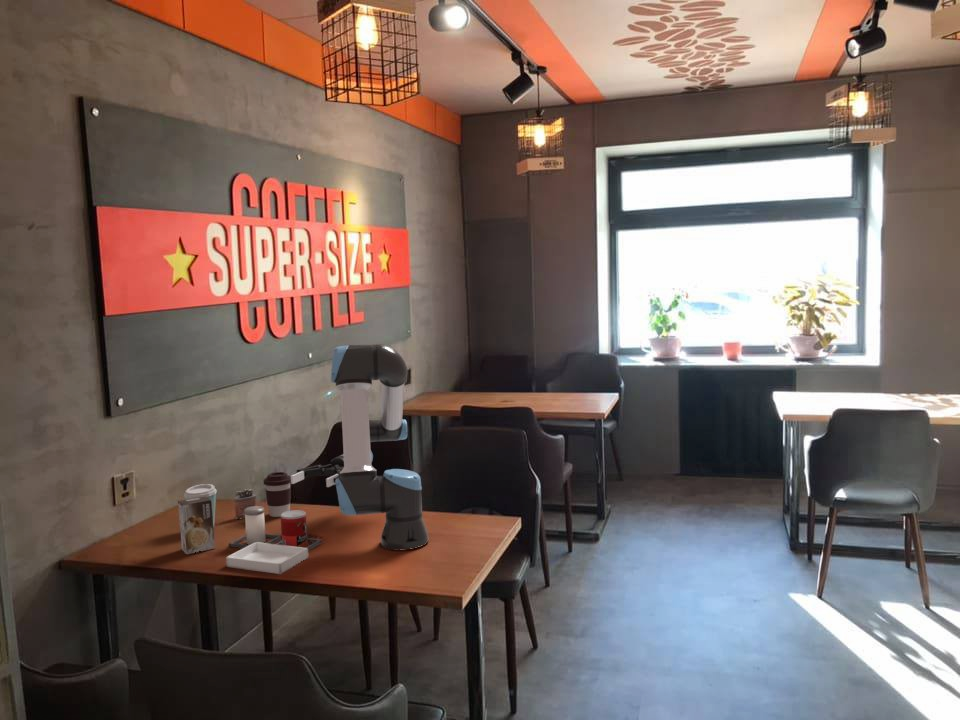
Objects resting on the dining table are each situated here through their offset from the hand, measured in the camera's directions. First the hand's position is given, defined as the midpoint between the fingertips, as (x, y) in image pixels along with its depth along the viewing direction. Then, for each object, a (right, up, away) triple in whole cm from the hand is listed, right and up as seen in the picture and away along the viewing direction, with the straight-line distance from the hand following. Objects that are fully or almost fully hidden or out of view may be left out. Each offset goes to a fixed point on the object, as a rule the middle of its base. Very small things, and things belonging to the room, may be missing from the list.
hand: (309, 481), depth 261 cm
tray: (-8, -21, -20) cm, 30 cm away
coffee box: (-34, -21, -7) cm, 40 cm away
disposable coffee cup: (-39, -19, +13) cm, 45 cm away
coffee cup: (-17, -17, +28) cm, 37 cm away
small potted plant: (-28, -17, +27) cm, 42 cm away
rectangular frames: (-10, -20, -4) cm, 22 cm away
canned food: (-3, -20, -7) cm, 21 cm away
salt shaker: (-17, -20, -2) cm, 26 cm away
